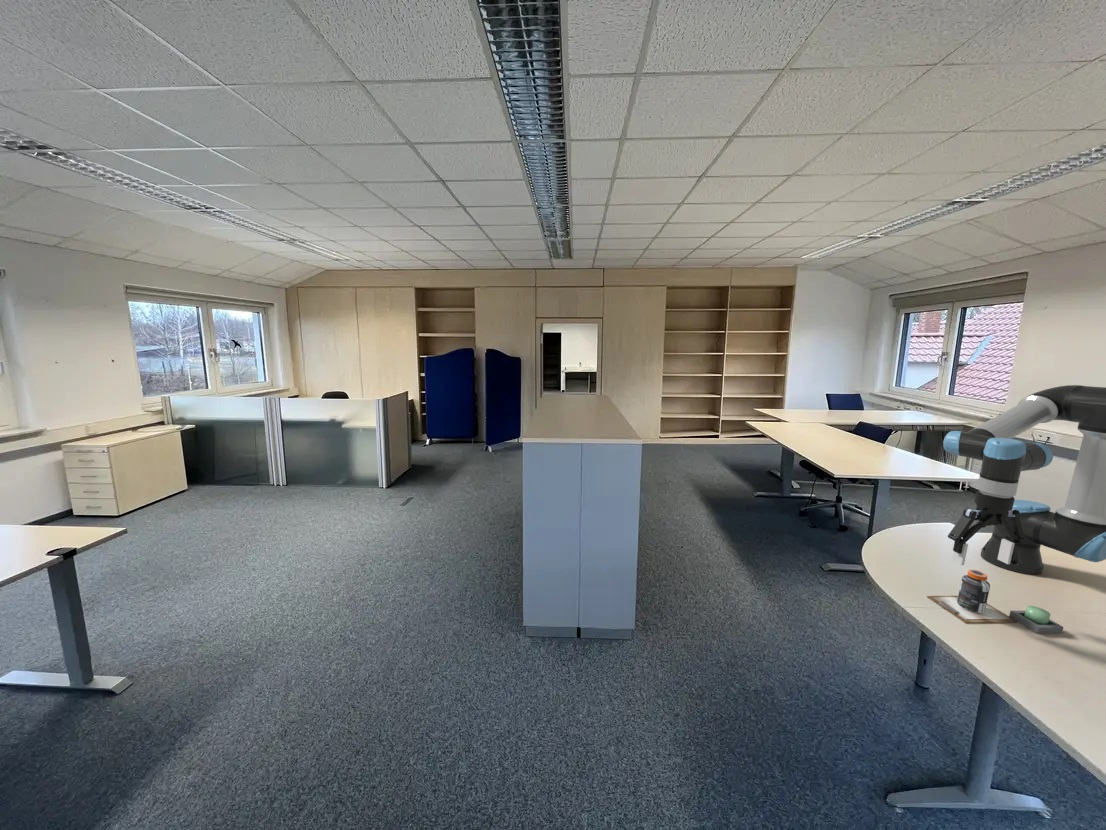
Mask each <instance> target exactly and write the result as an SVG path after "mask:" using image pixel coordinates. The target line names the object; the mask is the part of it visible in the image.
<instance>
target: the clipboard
mask: <svg viewBox="0 0 1106 830" xmlns="http://www.w3.org/2000/svg"><path fill="white" fill-rule="evenodd" d="M926 598H927V599H929V600H930V601H933V603H935V604H937V606H939V607H941V608H943V609H944V610H946V611H947V612H948V613H950V614H951V615H952V616H954V617H956V618H957V620H960V621H961V622H962V623H965V624H1011V623H1012V624H1013V623H1014V624H1017V623H1018V622H1017V621H1016V620H1014V619H1012V618H1011V617H1009V615H1007V614H1006V613H1005V612H1003V611H1001V610H1000V609H997V608H996V607H994V606H993V605H991V604H989V603H987V604H986V608H985V612H983V613H975V612H971V611H968V610H966V609H964V608H962V607H961V606H959V605H958V603H957V599H958V595H927V596H926Z"/></svg>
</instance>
